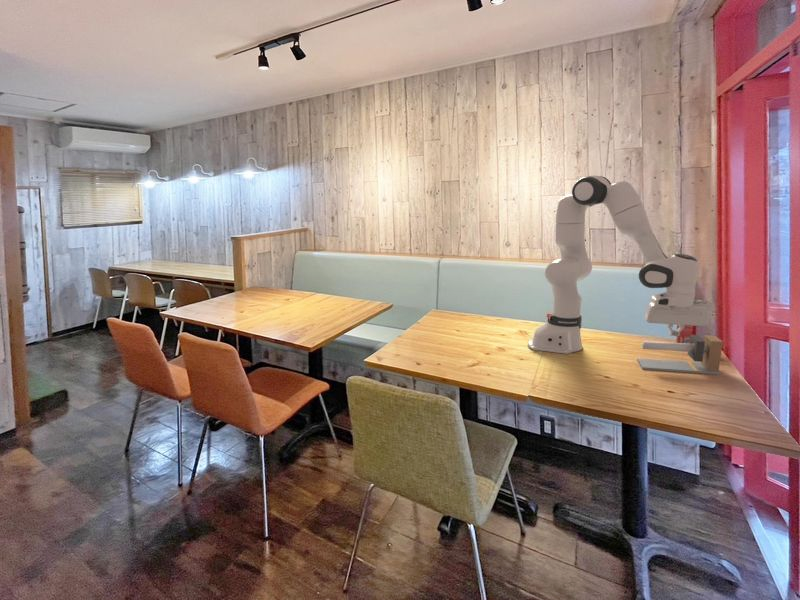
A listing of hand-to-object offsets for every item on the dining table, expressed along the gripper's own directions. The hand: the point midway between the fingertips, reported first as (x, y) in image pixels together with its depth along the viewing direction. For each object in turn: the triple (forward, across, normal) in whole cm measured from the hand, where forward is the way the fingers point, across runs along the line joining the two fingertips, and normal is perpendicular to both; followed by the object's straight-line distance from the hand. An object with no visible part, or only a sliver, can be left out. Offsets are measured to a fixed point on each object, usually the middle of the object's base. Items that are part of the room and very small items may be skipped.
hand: (674, 335), depth 164 cm
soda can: (+13, -12, -25) cm, 30 cm away
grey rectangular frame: (+8, -8, 0) cm, 11 cm away
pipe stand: (+12, -2, 0) cm, 12 cm away
